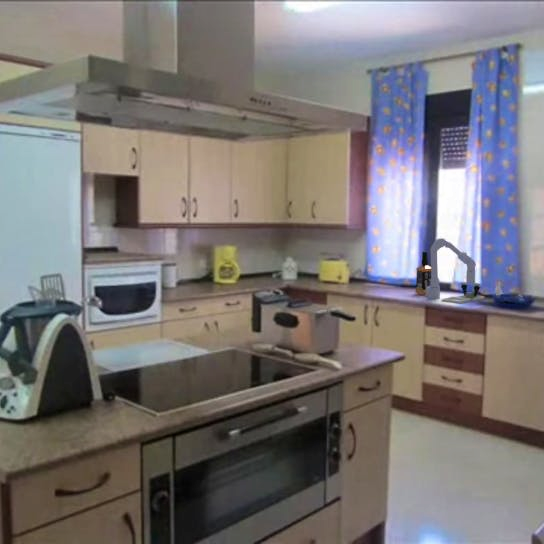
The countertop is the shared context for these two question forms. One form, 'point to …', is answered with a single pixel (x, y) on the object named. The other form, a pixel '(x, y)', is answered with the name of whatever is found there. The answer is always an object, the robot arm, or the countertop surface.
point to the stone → (470, 295)
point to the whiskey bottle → (423, 275)
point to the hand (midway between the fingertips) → (470, 296)
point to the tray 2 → (473, 299)
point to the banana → (499, 289)
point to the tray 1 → (456, 300)
